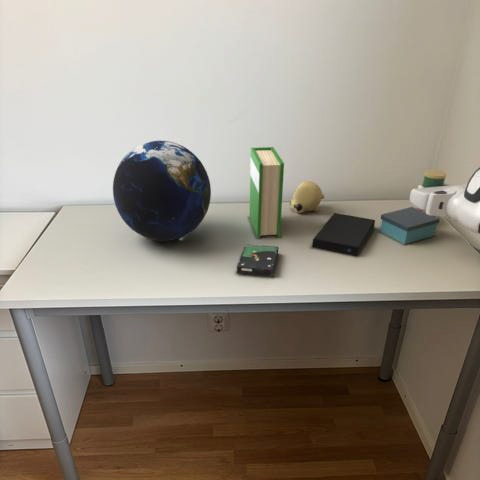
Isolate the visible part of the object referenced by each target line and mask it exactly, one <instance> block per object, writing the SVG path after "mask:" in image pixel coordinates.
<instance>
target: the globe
mask: <svg viewBox="0 0 480 480" xmlns="http://www.w3.org/2000/svg"><path fill="white" fill-rule="evenodd" d="M112 196H113V200H114V202H113V203H114V206H115V208H116V210H117V212H118V214H119V216H120V218H121V219H122V220H123V222H124V223H125V224H126V225H127V226H128V227H129V228H130V229H131V230H132V231H134V232H135V233H136V234H139V236H142V237H144V238H146V239H148V240H152V241H159V242H168V241H170V242H171V241H175V240H178V239H181V238H183V237H186V236H188V235H189V234H191V233H192V232H193V231H194V230H196V229H197V227H199V226H200V224H201V223H202V222H203V221H204V218H205V217H206V215H207V213H208V211H209V208H210V203H211V197H212V188H211V181H210V178H209V175H208V171H207V169H206V168H205V166H204V164H203V163H202V162H201V160H200V159H199V158H198V157H197V156H196V154H195V153H194V152H193V151H191V150H189V148H187V147H186V146H183V145H181V144H179V143H176V142H174V141H169V140H151V141H147V142H144V143H141V144H139V145H138V146H136V147H134V148H132V149H131V150H130V151H129V152H127V154H125V156H123V158H122V159H121V161H120V162H119V164H118V166H117V168H116V170H115V172H114V176H113V181H112Z"/></svg>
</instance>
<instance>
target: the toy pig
mask: <svg viewBox="0 0 480 480" xmlns="http://www.w3.org/2000/svg"><path fill="white" fill-rule="evenodd" d="M325 197H326V196H325V194H323V192H322V188H321V187H320V186H319V184H317V183H316V182H314V181H311V180H304V181H302V182H301V183H299V185H298V186H297V187H296V190H295V191H294V193H293V197H292V199H291V200H290V202H289V206H290V208H291V209H292V210H293V211H294V212H295V213H298V214H303V213H305V212H311V211H315V212H317V211H319V205H320V203H321V202H322V200H324V199H325Z"/></svg>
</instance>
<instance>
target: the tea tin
mask: <svg viewBox="0 0 480 480" xmlns="http://www.w3.org/2000/svg"><path fill="white" fill-rule="evenodd" d="M423 175H424V176H423V180H422V185H424V186H426V188H428V187H439V186H443V185H444V183H445V181H446V177H447V173H446V172H445V171H442V170H439V169H427V170H425V171H424V174H423Z"/></svg>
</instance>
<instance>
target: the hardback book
mask: <svg viewBox="0 0 480 480" xmlns="http://www.w3.org/2000/svg"><path fill="white" fill-rule="evenodd" d="M284 170H285V162H284V161H283V159H282V158H281V157H280V155H279V153H278V152H277V151H276V149H275V148H274V146H263V147H261V146H260V147H258V146H257V147H250V171H249V172H250V173H249V220H250V222H251V224H252V228H253V230H254V233H255V236H256V238H257V239H261V236H276V238H281V228H282V227H281V226H282V223H281V222H282V209H283V192H284V191H283V190H284V174H285V172H284Z"/></svg>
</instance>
